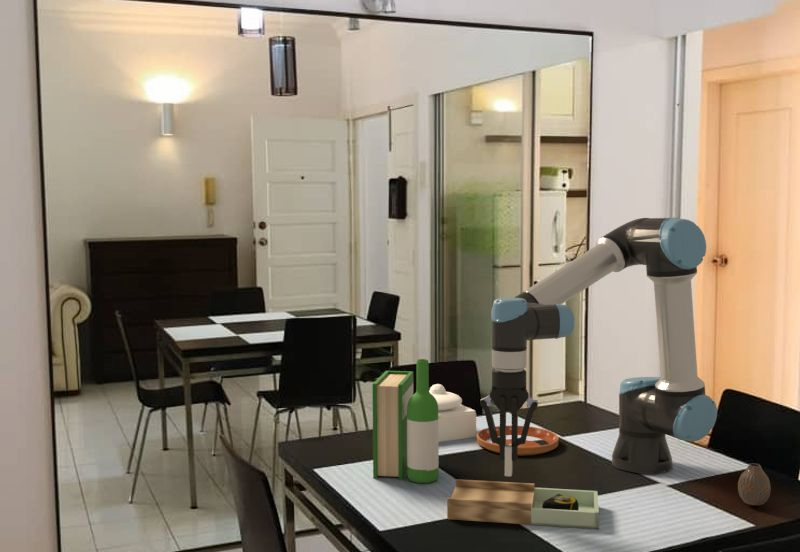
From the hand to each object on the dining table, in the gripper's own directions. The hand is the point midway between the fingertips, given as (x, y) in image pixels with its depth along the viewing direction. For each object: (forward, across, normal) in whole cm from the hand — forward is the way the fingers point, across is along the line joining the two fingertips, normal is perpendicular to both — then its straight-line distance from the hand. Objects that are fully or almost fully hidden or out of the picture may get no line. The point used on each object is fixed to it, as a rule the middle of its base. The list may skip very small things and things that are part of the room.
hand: (508, 474), depth 195 cm
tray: (+9, -12, 0) cm, 15 cm away
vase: (+9, -54, -16) cm, 58 cm away
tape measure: (+4, -9, +1) cm, 9 cm away
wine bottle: (+9, +22, -20) cm, 31 cm away
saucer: (+9, +1, -54) cm, 54 cm away
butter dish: (+9, +26, -61) cm, 67 cm away
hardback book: (+9, +31, -27) cm, 42 cm away
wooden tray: (+9, +4, 0) cm, 9 cm away
